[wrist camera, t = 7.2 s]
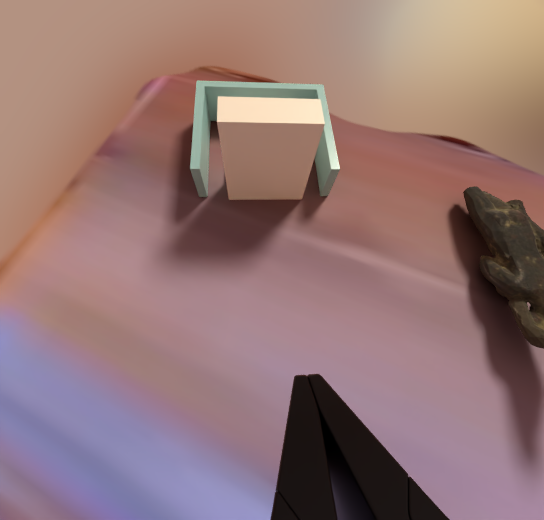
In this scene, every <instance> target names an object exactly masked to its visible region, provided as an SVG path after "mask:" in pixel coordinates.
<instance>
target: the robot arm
mask: <svg viewBox="0 0 544 520" xmlns="http://www.w3.org/2000/svg"><path fill="white" fill-rule="evenodd" d="M271 520H449V519H448V518H447V517H446V516H445V514H444V513H443V512H442V511H441V510H440V509H439V508H438V507H437V506H436V505H435V504H434V502H433V501H432V500H431V499H430V498H429V497H428V496H427V495H426V494H425V493H424V492H423V490H422V489H421V488H420V487H419V486H418V485H417V484H416V482H415V481H414V480H413V479H412V478H411V477H408V474H407V472H406V471H405V470H404V469H403V468H402V467H401V466H400V464H399V463H398V462H397V461H396V460H395V459H394V458H393V457H392V455H391V454H390V453H389V452H388V451H387V450H386V449H385V447H384V446H383V445H382V444H381V443H380V442H379V441H378V440H377V438H376V437H375V436H374V435H373V434H372V433H371V432H370V431H369V429H368V428H367V427H366V426H365V425H364V424H363V423H362V421H361V420H360V419H359V418H358V417H357V416H356V415H355V414H354V412H353V411H352V410H351V409H350V408H349V407H348V406H347V404H346V403H345V402H344V401H343V400H342V399H341V398H340V397H339V395H338V394H337V393H336V392H335V391H334V390H333V389H332V387H331V386H330V385H329V384H328V383H327V382H326V381H325V380H324V378H323V377H322V376H321V375H320V374H309V375H307V376H306V375H296V376H295V377H294V381H293V388H292V394H291V400H290V406H289V412H288V418H287V424H286V430H285V437H284V443H283V449H282V455H281V461H280V467H279V473H278V479H277V486H276V492H275V497H274V503H273V509H272V515H271Z"/></svg>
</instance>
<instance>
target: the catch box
mask: <svg viewBox="0 0 544 520" xmlns="http://www.w3.org/2000/svg"><path fill="white" fill-rule="evenodd" d="M218 96H224V97H260V98H296V99H320V100H321V105H322V111H323V116H324V122H325V125H324V128H323V132H322V135H321V138H320V142H319V145H318V148H317V152H316V155H315V165H316V171H317V178H318V184H319V191H320V196H328V194H329V192H330V190H331V188H332V186H333V183H334V181H335V179H336V177H337V175H338V172H339V170H340V167H339V162H338V157H337V152H336V147H335V142H334V136H333V131H332V126H331V121H330V116H329V111H328V106H327V101H326V96H325V91H324V86H323V85H319V84H287V83H255V82H223V81H197V83H196V96H195V109H194V123H193V136H192V149H191V163H190V170H191V173H192V176H193V179H194V182H195V185H196V189H197V192H198V195H199V197H207V195H208V171H209V147H210V123H211V121H217V105H218Z"/></svg>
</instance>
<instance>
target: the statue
mask: <svg viewBox="0 0 544 520" xmlns="http://www.w3.org/2000/svg"><path fill="white" fill-rule="evenodd" d="M463 193H464V198H465V201H466V206H467V209H468V211H469V214H470V216H471V218H472V220H473V222H474V224H475V225H476V226H477V229H478V230H479V232H480V233H481V235H482V236H483V238H484V239H485V241H486V243H487V246H488V248H489V251H490V252H491V253H492V254H493V256H495V258H491V257H489V256H487V255H482V256H481V259H480V264H479V266H480V270H481V272H482V274H483V275H484V277H485V278H486V279H487V280H489V281H490V282H491V283H492V284H493V285H495V286H496V291H497V292H498V293H499V294H500V295H502V296H503V297H507V299H508V300H509V303H508V304H509V306H510V308H511V310H512V312H513V315H514V317H515V320H516V323H517V325H518V327H519V329H520V330H521V332H522V334H523V335H524V337H525V338H526V339H527V341H528V342H529V343H530V344H531V345H534V346H536V347H539V348H544V230H543V229H541V228H540V227H539V226H538V225H537V224H536V223H534V222H533V221H532V220H531V219H530V217H529V216H528V215H527V213H526V211H525V208H524V206H523V202H522V201H521V200H512V201H509V202H506V203H505V202H503V201H502V200H500V199H499V198H497V197H494V196H492V195H491V194H488V193H487V192H485V191H481V190H480V189H479V188H478V187H469V188H467V189H466V190H465V191H464V192H463ZM542 255H543V256H542ZM527 302H529V303H530V304H531V306H530V307H529V308H530V310H529V309H528V306H527Z"/></svg>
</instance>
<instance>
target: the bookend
mask: <svg viewBox="0 0 544 520" xmlns="http://www.w3.org/2000/svg"><path fill="white" fill-rule="evenodd" d="M217 125H218V132H219V138H220V145H221V152H222V158H223V165H224V171H225V178H226V185H227V191H228V198H229V200H281V199H302V198H303V194H304V191H305V188H306V184H307V181H308V178H309V175H310V171H311V168H312V165H313V161H314V158H315V155H316V152H317V148H318V145H319V142H320V138H321V135H322V132H323V128H324V125H325V122H324V116H323V111H322V105H321V100H320V99H296V98H260V97H224V96H218V105H217Z"/></svg>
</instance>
